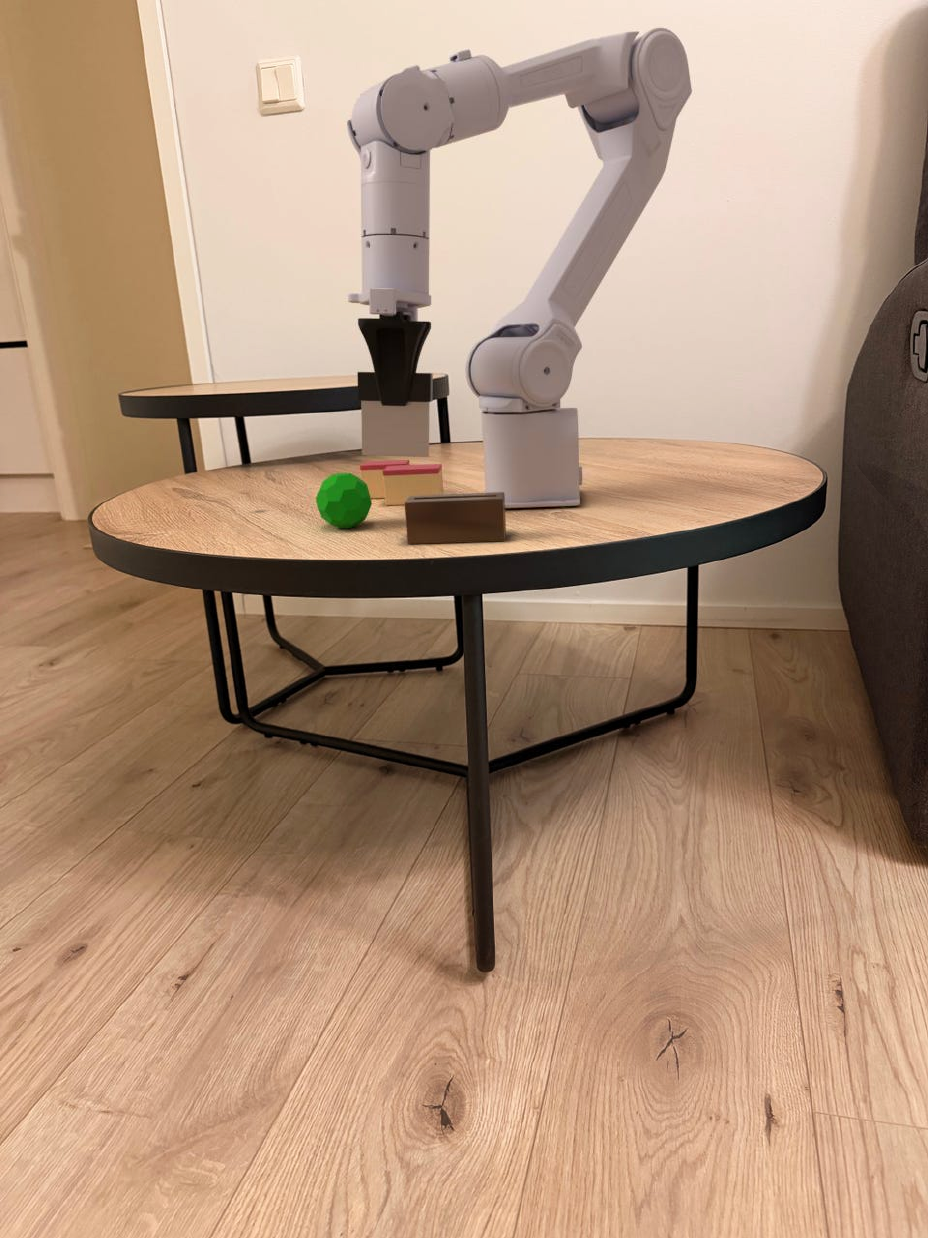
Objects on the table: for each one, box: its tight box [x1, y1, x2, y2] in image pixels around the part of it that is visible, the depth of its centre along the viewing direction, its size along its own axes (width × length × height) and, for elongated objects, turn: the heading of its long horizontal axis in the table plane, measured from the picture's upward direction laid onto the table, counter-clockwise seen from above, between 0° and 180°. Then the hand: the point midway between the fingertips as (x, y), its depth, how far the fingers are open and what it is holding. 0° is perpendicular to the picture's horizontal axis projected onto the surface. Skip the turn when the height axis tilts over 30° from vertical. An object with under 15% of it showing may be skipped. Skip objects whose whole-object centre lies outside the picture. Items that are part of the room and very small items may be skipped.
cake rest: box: [383, 463, 445, 506], centre depth 93 cm, size 6×3×4 cm, turn 85°
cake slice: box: [359, 459, 410, 499], centre depth 97 cm, size 5×3×4 cm, turn 85°
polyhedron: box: [315, 472, 373, 529], centre depth 83 cm, size 5×5×5 cm
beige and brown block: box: [357, 371, 434, 458], centre depth 81 cm, size 6×2×7 cm, turn 86°
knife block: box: [404, 492, 507, 545], centre depth 76 cm, size 8×3×4 cm, turn 85°
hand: (395, 405), depth 81 cm, fingers closed on beige and brown block, 2 cm apart
